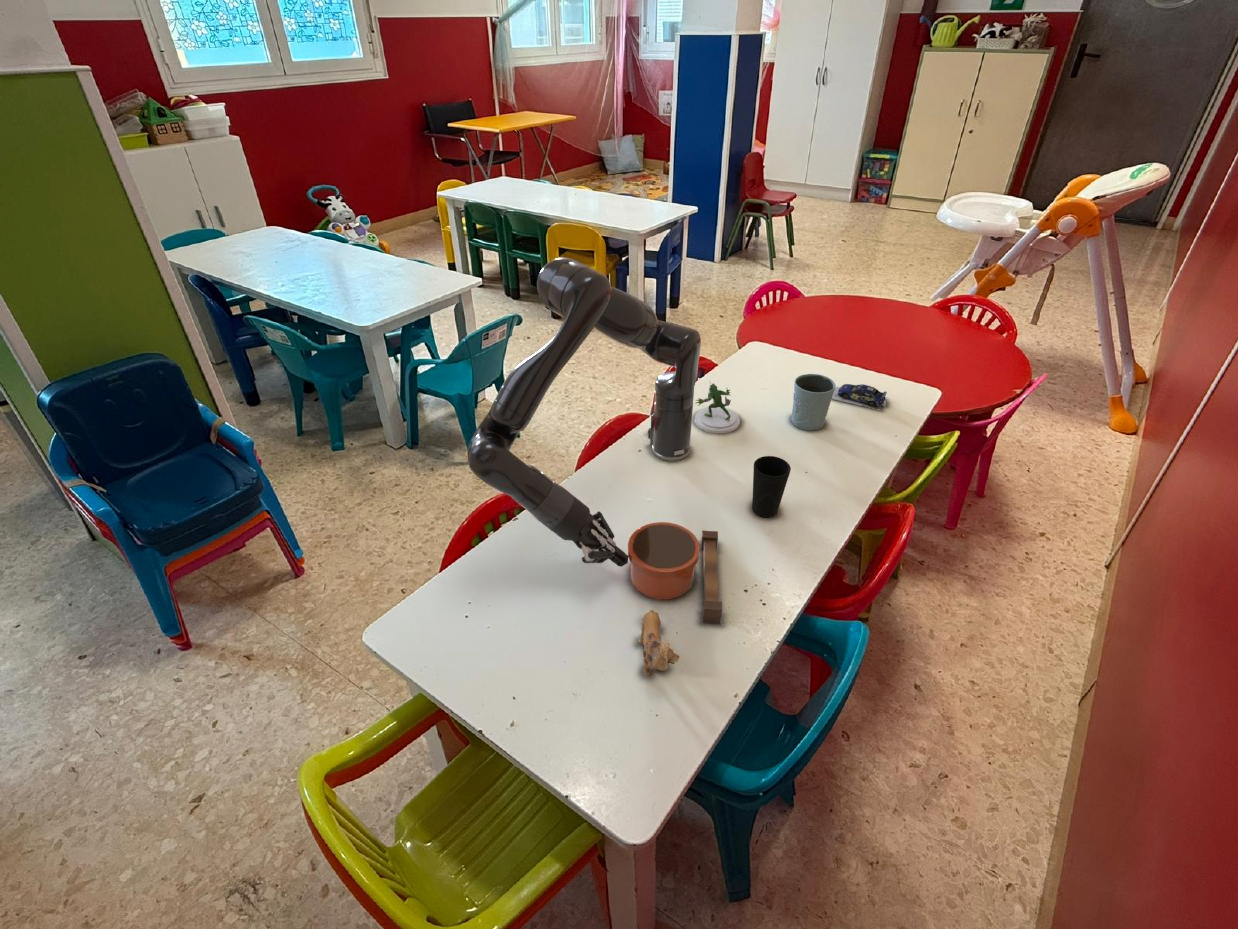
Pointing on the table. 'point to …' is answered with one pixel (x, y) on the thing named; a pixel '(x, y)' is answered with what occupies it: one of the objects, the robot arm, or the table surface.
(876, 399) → the race car
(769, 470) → the cup
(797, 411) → the grey planter pot
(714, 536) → the oak rail
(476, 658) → the table surface
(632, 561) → the terracotta pot
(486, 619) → the table surface
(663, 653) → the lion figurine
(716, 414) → the monster figurine
